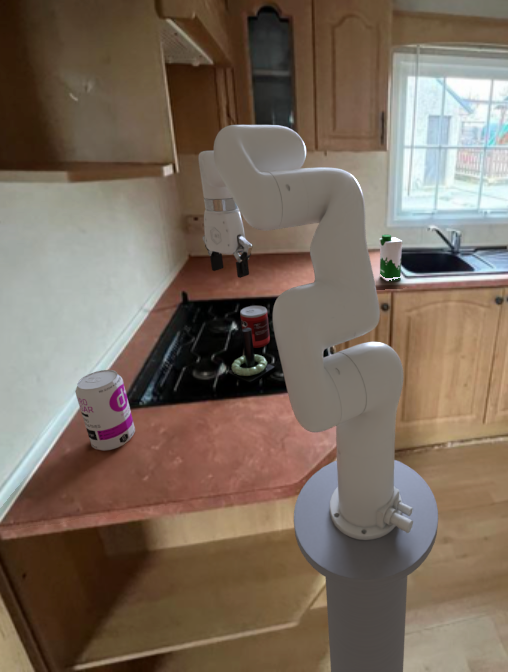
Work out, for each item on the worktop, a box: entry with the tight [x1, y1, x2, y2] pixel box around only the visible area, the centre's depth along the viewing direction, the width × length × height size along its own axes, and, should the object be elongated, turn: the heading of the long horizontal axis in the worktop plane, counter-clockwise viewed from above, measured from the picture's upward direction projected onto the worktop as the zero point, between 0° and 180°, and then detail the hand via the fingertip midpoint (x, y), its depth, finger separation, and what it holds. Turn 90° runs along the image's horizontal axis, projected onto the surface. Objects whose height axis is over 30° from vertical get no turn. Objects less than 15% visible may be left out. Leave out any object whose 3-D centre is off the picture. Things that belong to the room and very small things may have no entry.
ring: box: [231, 354, 268, 376], centre depth 112 cm, size 9×9×2 cm
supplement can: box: [75, 369, 136, 451], centre depth 85 cm, size 8×8×15 cm
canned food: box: [239, 305, 271, 349], centre depth 127 cm, size 8×8×11 cm
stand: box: [226, 328, 276, 387], centre depth 110 cm, size 9×9×13 cm
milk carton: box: [378, 234, 403, 282], centre depth 181 cm, size 9×9×20 cm
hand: (230, 272), depth 104 cm, fingers open, 9 cm apart
